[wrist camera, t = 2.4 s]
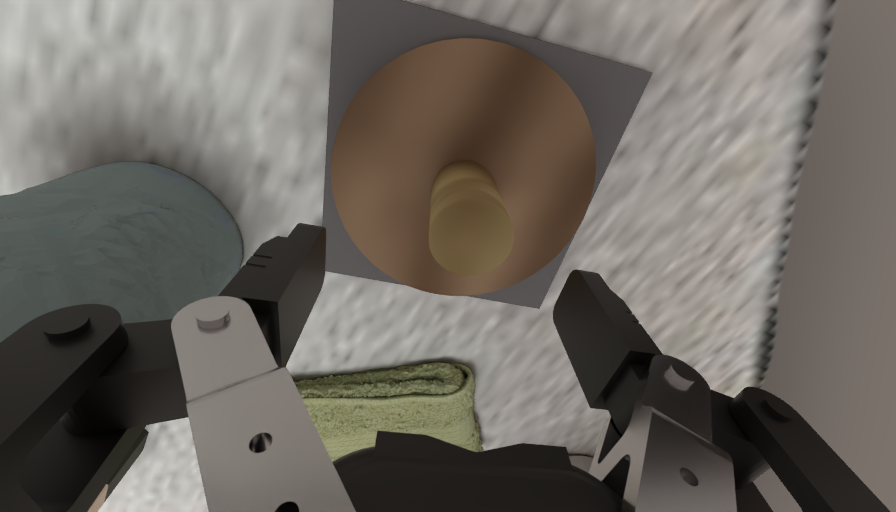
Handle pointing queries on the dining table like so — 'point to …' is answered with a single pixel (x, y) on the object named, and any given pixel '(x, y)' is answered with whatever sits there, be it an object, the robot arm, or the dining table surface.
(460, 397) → the washcloth
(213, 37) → the dining table surface
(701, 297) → the dining table surface
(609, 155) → the mat
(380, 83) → the lid
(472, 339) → the dining table surface
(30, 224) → the grey-blue cup
